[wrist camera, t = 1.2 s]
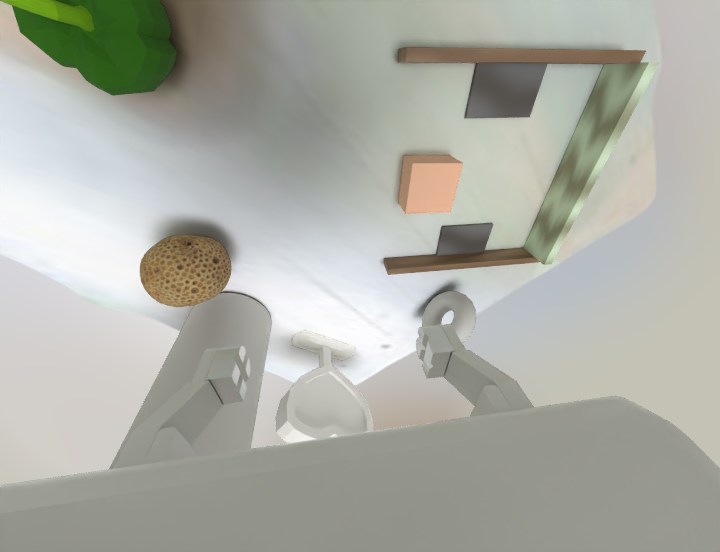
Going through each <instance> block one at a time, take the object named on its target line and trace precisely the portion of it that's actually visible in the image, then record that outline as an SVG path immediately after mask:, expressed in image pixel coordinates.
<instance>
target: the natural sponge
mask: <svg viewBox="0 0 720 552" xmlns="http://www.w3.org/2000/svg"><path fill="white" fill-rule="evenodd" d="M230 275H231V261H230V258H229V256H228V254H227V252H226V250H225V249H224V248H223V246H222V245H221V244H220V243H219V242H218V241H216V240H214V239H212V238H209V237H205V236H196V235H175V236H170V237H167V238H165V239H163V240H161V241H160V242H158V243H157V244H156V245H154V246H153V247H152V248H150V249H149V250H148V251H147V252H146V254H145V255H144V257H143V258H142V260H141V264H140V277H141V282H142V284H143V286H144V288H145V290H146V291H147V292H148V294H149V295H150V296H151V297H153V298H154V299H155V300H157V301H158V302H160V303H162V304H165V305H169V306H174V307H184V306H192V305H196V304H199V303H202V302H205V301H208V300H210V299H212V298H214V297H215V296H217V295H218V294H219V293H220V292H221V291H222V290H223V289H224V288H225V286H226V285H227V283H228V281H229V278H230Z"/></svg>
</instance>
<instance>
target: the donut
mask: <svg viewBox="0 0 720 552" xmlns="http://www.w3.org/2000/svg"><path fill="white" fill-rule="evenodd" d="M450 310H452V311H453V312H454V318H453V321H452V323H451V325H452V327H453V328H454V330H455V332H456V333H457V335H458V337H459V339H460V340H461V342H462V343H463V342H465V340H467V338H468V337H470V335H471V333H472V331H473V330H474V327H475V323H476V310H475V307H474V305H473V303H472V301H471V300H470V299H469V298H468V297H467V296H466V295H464V294H462V293H459V292H457V291H447V292H444V293H441V294H439V295H437V296H436V297H434V298H433V299H432V300H431V301H430V303H429V304H428V305H427V307H426V309H425V311H424V314H423V318H422V327H426V326H434V325H441V321H442V317H443V316H444V314H445V313H446V312H448V311H450Z"/></svg>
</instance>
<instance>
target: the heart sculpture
mask: <svg viewBox="0 0 720 552" xmlns="http://www.w3.org/2000/svg"><path fill="white" fill-rule="evenodd" d="M292 346H295V347H299V348H302V349H305V350H309V351H312V352H316V353H319V368H317V369H314V370H312V371H310V372H308V373H306V374H305V375H303V376H301V377H300V378H299V379H298V380H297V381H296V382H295V383H294V385H293V386H292V387H291V388H290V389H289V390H288V392H287V393H286V394H285V396H284V397H283V398H282V399H281V401H280V404H279V407H278V411H277V415H276V432H277V433H278V434H279V436H280V437H281V438H282V440H284V441H286V442H288V443H294V442H301V441H307V440H314V439H321V438H328V437H335V436H342V435H348V434H355V433H362V432H369V431H374V427H373V420H372V416H371V412H370V409H369V406H368V404H367V402H366V401H365V399H364V397H363V396H362V394H361V392H360V391H359V390H358V389H357V388H356V387H355V386H354V385H353V384H352V382H351V381H350V380H349V379H347V378H346V377H345V376H344V375H343V374H342V373H340V372H339V371H338V370H337V369H336V368H335V367H334V366H333V365H332V360H331V357H332V358H336V359H339V360H345V359H347V358H349V357H351V356H352V355H353V354H354V352H355V346H352V345H349V344H346V343H343V342H340V341H337V340H334V339H331V338H328V337H325V336H322V335H319V334H316V333H313V332H310V331H307V330H303V331H301V332H299V333H297V334H295V335H294V336H293V338H292Z"/></svg>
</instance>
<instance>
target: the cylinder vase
mask: <svg viewBox="0 0 720 552" xmlns="http://www.w3.org/2000/svg"><path fill="white" fill-rule="evenodd" d="M270 331H271V317H270V315H269V313H268V311H267V310H266V309H265V307H264V306H263V305H261V304H260V303H259V302H257V301H256V300H254V299H252V298H250V297H247V296H244V295H241V294H235V293H219V294H218V295H217V296H215V297H214V298H212V299H210V300H208V301H205V302H202V303H199V304H196V305H194V307H193V308H192V310H191V312H190V314H189V316H188V318H187V320H186V322H185V324H184V326H183V327H182V329H181V331H180V333H179V335H178V337H177V339H176V341H175V343H174V345H173V347H172V349H171V351H170V353H169V354H168V356H167V358H166V360H165V362H164V364H163V366H162V368H161V370H160V372H159V374H158V376H157V378H156V380H155V382H154V384H153V385H152V387H151V389H150V391H149V393H148V395H147V397H146V399H145V401H144V403H143V405H142V407H141V409H140V410H139V412H138V414H137V416H136V418H135V420H134V422H133V424H132V426H131V428H130V430H129V432H128V434H127V435H126V438H125V439H124V441H123V443H122V445H121V447H120V449H119V451H118V453H117V455H116V457H115V459H114V461H113V463H112V464H111V466H110V468H109V469H113V468H114V466H115V464H116V462H117V460H118V458H119V456H120V455H121V453H122V451H123V449H124V447H125V445H126V443H127V441H128V440H129V438H130V436H131V434H132V432H133V431H134V430H135V429H136V428H137V427H138V426H140V425H141V424H142V423H143V422H144V421H145V420H146V419H147V418H149V417H150V416H151V415H152V414H153V413H154V412H155V411H156V410H158V409H159V408H160V407H161V406H162V405H163V404H164V403H165V402H167V401H168V400H169V399H170V398H171V397H172V396H173V395H174V394H176V393H177V392H178V391H179V390H180V389H181V388H182V387H183V386H185V385H186V384H187V383H189V382H192V380H193V377H194V375H195V372H196V370H197V368H198V365H199V363H200V361H201V358H202V356H203V354H204V352H205V351H206V350H207V349H213V348H223V347H236V346H244V348H245V350H246V352H245V356H247V357H248V358H249V361H250V375H249V379H248V380H247V381H246V382H245V384H246V387H247V389H246V393H245V397H244V401H243V402H237V403H230V404H224V405H223V407H222V408H221V409H220V411H219V412H218V413H217V414H216V416H215V417H214V418H213V419H212V421H211V422H210V423H209V424H208V426H207V427H206V428H205V430H204V431H203V432H202V433H201V435H200V436H199V437H198V438H197V440H196V441H195V442H194V443H193V445H192V448H193V449H194V450H195V451H196V452H197V453H198V455H199V456H205V455H212V454H218V453H225V452H232V451H239V450H246V449H251V442H252V437H253V431H254V425H255V419H256V413H257V407H258V401H259V395H260V389H261V384H262V377H263V372H264V366H265V360H266V354H267V348H268V342H269V336H270Z"/></svg>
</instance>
